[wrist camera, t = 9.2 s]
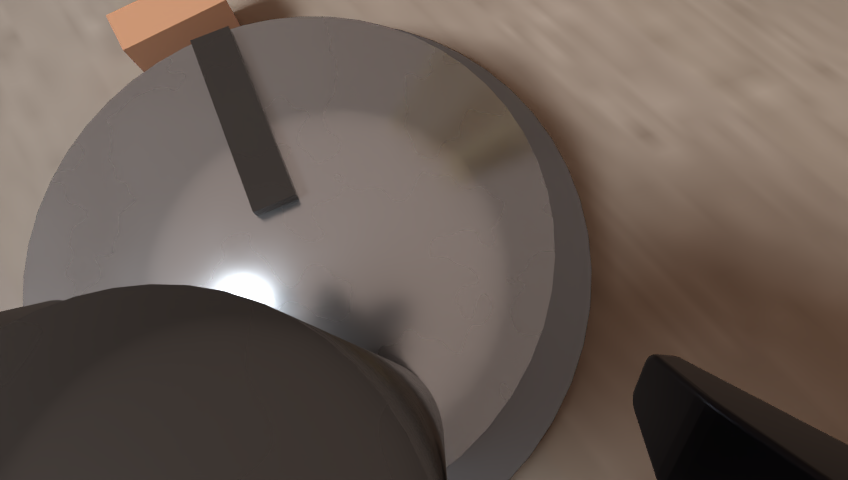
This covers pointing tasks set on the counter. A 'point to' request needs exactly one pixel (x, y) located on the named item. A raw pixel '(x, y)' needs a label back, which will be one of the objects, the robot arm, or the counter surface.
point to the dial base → (571, 291)
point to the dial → (280, 267)
